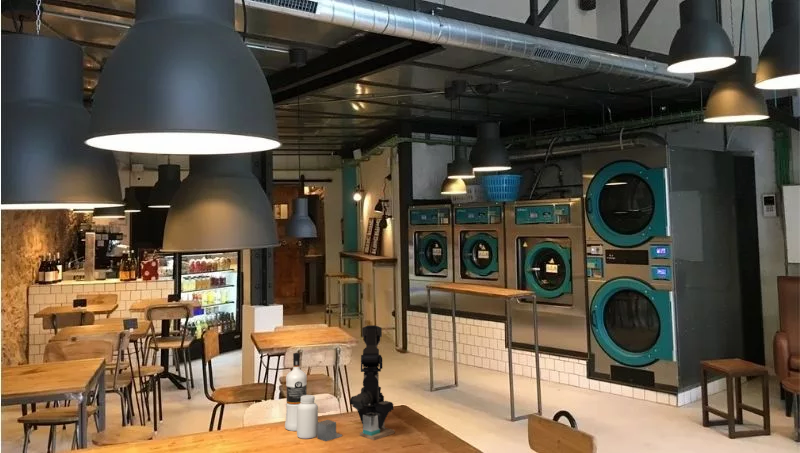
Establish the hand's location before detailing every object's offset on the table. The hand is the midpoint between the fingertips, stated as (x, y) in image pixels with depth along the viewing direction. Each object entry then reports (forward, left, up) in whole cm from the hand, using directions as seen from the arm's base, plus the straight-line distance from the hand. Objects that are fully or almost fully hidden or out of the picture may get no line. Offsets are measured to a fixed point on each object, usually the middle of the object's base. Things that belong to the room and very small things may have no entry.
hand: (371, 426), depth 216 cm
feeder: (-11, -12, -4) cm, 16 cm away
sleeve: (0, 0, -3) cm, 3 cm away
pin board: (0, +3, -4) cm, 5 cm away
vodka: (-30, -13, -4) cm, 33 cm away
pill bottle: (-19, -16, -4) cm, 25 cm away
